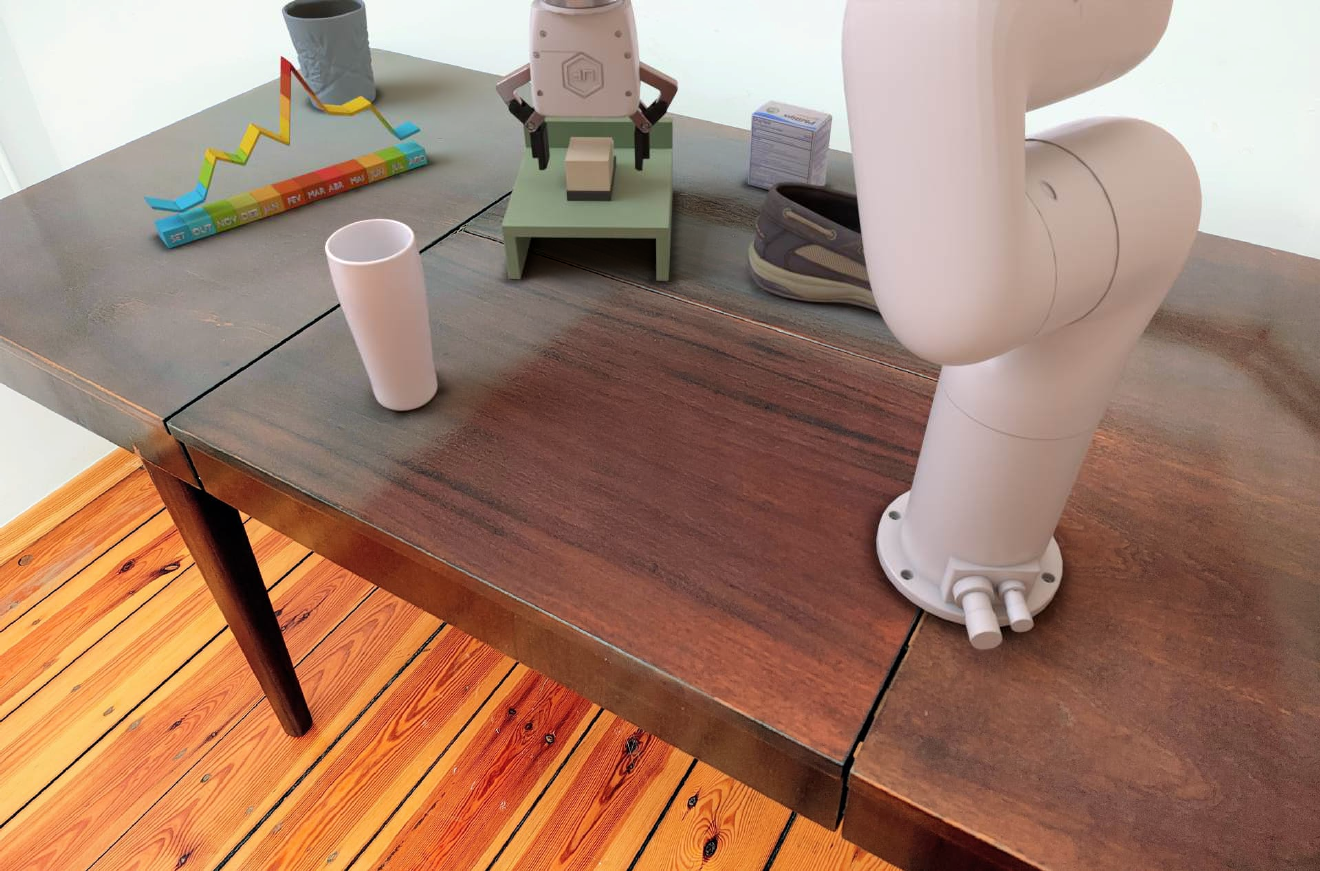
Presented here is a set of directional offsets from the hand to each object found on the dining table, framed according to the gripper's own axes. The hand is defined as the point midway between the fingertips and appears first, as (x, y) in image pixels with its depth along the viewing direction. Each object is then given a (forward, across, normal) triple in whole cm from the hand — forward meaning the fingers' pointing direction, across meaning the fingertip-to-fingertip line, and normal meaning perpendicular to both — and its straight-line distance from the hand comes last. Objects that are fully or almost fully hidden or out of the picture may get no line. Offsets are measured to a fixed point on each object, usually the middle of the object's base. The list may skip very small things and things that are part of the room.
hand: (592, 164), depth 94 cm
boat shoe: (+8, +30, -11) cm, 33 cm away
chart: (+8, -34, +7) cm, 36 cm away
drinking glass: (+8, -14, -27) cm, 31 cm away
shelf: (+8, 0, 0) cm, 8 cm away
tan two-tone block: (+2, 0, 0) cm, 2 cm away
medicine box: (+8, +21, +11) cm, 25 cm away
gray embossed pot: (+8, -37, +35) cm, 52 cm away
